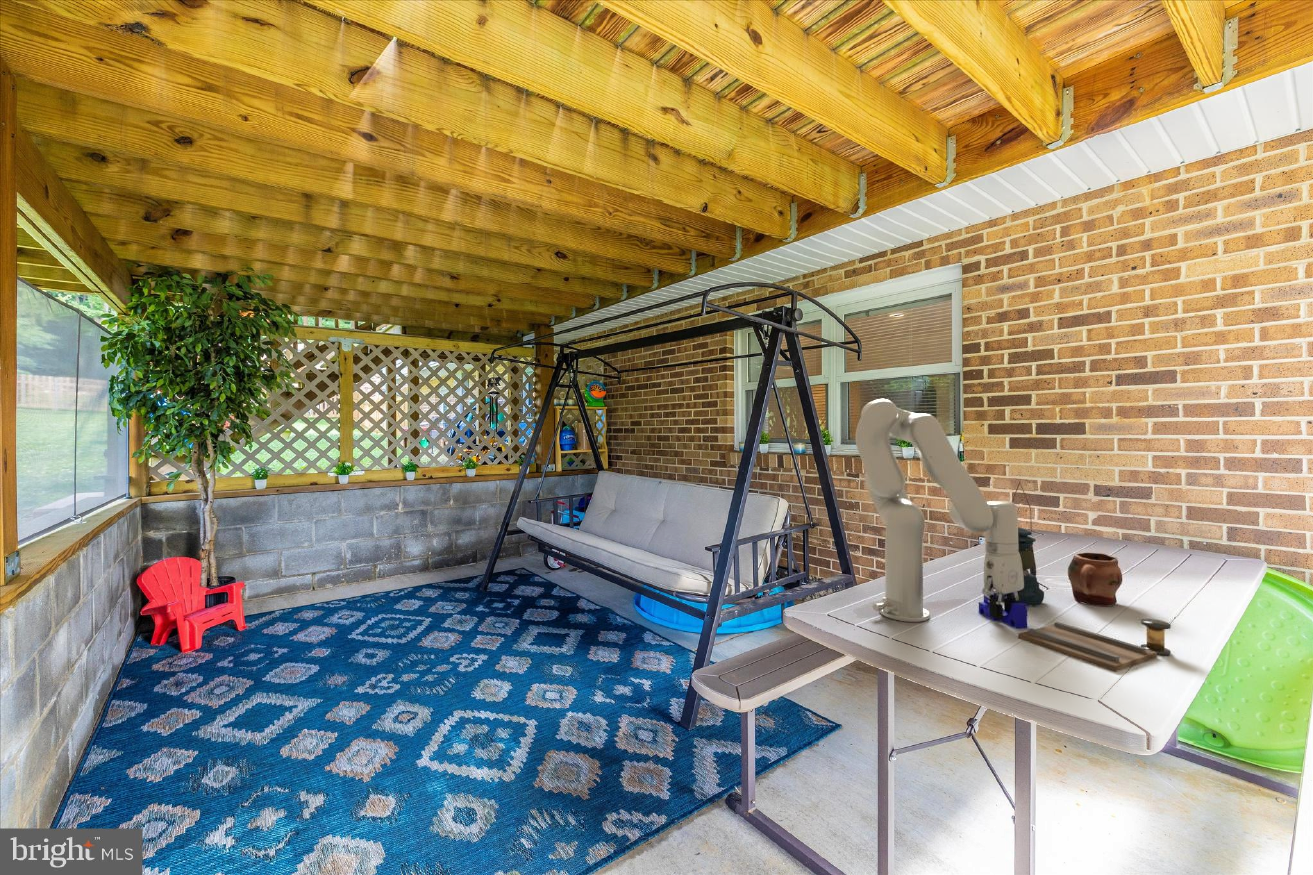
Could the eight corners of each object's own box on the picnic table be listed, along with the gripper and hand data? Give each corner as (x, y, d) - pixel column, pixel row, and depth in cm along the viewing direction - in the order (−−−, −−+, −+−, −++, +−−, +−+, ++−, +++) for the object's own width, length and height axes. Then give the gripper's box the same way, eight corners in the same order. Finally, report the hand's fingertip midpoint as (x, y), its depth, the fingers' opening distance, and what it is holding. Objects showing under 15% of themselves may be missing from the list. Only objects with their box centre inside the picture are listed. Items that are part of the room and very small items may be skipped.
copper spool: (1163, 657, 119) (1163, 627, 119) (1135, 649, 124) (1135, 620, 124) (1175, 653, 121) (1175, 624, 121) (1147, 645, 126) (1147, 617, 126)
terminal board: (1115, 671, 113) (1115, 661, 112) (1018, 638, 131) (1018, 629, 131) (1156, 657, 119) (1156, 647, 119) (1058, 627, 137) (1058, 619, 137)
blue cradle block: (978, 612, 149) (978, 591, 149) (994, 612, 149) (993, 590, 149) (1010, 628, 137) (1010, 605, 137) (1027, 627, 137) (1027, 604, 137)
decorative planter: (1115, 617, 144) (1115, 565, 144) (1059, 606, 153) (1059, 557, 153) (1127, 600, 157) (1127, 553, 157) (1075, 591, 166) (1075, 546, 166)
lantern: (1024, 610, 151) (1024, 485, 150) (984, 598, 162) (983, 481, 161) (1056, 602, 156) (1056, 482, 156) (1015, 591, 167) (1014, 479, 167)
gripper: (994, 554, 136) (996, 626, 136) (1036, 546, 143) (1038, 614, 143) (966, 549, 143) (968, 617, 143) (1008, 541, 150) (1010, 606, 150)
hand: (1003, 615), depth 143 cm, fingers closed on blue cradle block, 5 cm apart
